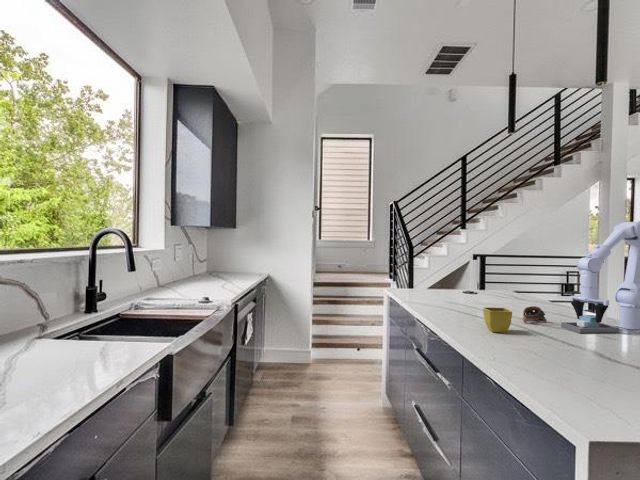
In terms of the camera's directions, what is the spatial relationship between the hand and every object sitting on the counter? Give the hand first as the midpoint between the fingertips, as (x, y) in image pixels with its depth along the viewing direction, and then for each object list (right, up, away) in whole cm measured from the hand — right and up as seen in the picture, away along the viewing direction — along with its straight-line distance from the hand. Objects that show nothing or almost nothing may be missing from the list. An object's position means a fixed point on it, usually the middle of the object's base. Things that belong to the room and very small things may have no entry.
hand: (589, 320), depth 164 cm
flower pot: (-38, -4, -2) cm, 38 cm away
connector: (0, -3, 0) cm, 3 cm away
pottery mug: (-14, -4, +16) cm, 22 cm away
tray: (0, -4, 0) cm, 4 cm away
